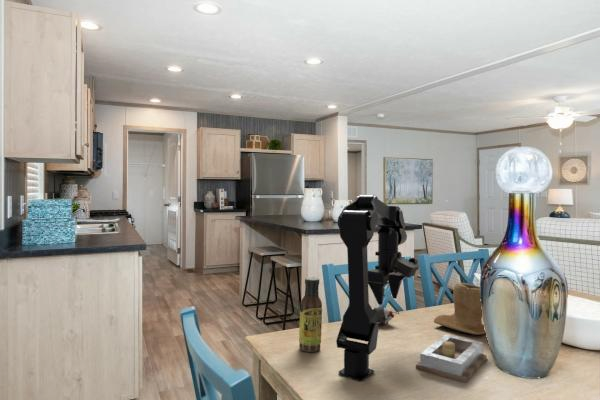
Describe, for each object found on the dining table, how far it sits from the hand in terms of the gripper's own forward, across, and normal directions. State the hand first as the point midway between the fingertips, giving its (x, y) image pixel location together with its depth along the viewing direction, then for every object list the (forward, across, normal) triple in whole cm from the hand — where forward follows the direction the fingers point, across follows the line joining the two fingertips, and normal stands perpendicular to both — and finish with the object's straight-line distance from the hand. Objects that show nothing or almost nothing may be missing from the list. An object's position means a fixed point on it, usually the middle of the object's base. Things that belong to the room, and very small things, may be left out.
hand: (387, 301), depth 119 cm
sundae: (+10, +8, +17) cm, 21 cm away
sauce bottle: (+12, -19, +14) cm, 27 cm away
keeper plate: (+12, -3, -20) cm, 24 cm away
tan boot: (+12, +26, -14) cm, 32 cm away
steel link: (+11, -3, -20) cm, 23 cm away
